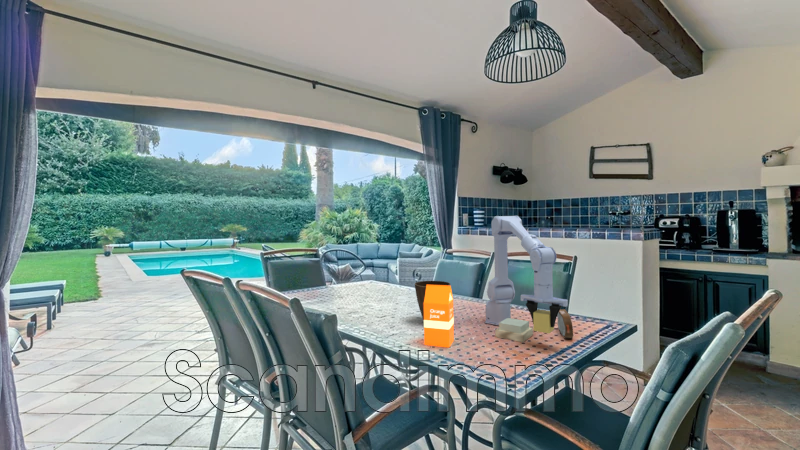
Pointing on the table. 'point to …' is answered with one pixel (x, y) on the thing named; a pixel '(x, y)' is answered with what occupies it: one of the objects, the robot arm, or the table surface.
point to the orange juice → (438, 316)
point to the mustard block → (542, 321)
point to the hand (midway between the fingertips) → (543, 325)
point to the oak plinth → (514, 335)
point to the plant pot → (421, 290)
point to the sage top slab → (514, 325)
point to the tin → (565, 324)
